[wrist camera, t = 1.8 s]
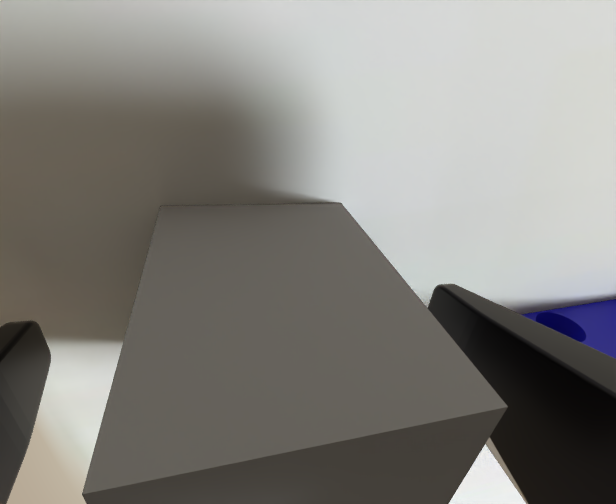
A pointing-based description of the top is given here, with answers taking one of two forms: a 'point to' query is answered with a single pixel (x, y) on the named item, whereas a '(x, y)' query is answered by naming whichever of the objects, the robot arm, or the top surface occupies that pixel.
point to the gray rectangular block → (284, 371)
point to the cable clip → (584, 324)
